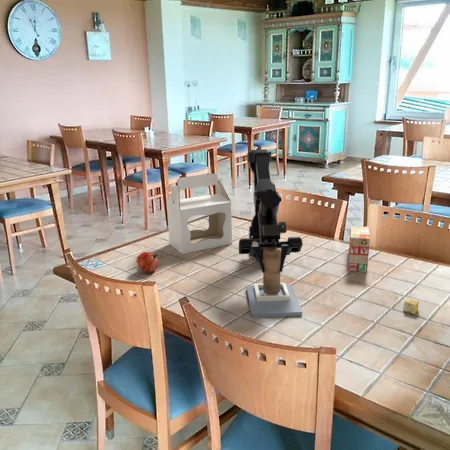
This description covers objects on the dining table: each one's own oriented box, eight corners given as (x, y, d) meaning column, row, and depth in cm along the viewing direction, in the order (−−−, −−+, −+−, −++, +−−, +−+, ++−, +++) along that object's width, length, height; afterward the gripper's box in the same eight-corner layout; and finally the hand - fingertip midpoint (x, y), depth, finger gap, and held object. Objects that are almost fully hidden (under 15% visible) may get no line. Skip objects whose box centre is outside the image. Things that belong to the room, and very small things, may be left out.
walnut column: (262, 287, 140) (262, 247, 136) (278, 286, 140) (279, 246, 136) (264, 294, 135) (264, 253, 131) (281, 294, 135) (281, 252, 131)
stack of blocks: (348, 249, 175) (350, 218, 172) (366, 250, 174) (368, 219, 170) (348, 271, 156) (350, 236, 152) (367, 272, 154) (370, 237, 150)
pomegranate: (136, 281, 157) (156, 267, 152) (125, 263, 157) (144, 248, 153) (148, 275, 163) (167, 261, 159) (137, 258, 164) (156, 244, 160)
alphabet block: (406, 307, 130) (407, 297, 129) (418, 310, 128) (419, 300, 127) (403, 311, 128) (404, 301, 127) (414, 314, 126) (415, 304, 125)
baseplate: (246, 289, 144) (246, 282, 143) (291, 287, 144) (291, 280, 143) (251, 317, 126) (251, 309, 126) (302, 315, 127) (302, 308, 126)
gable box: (217, 235, 195) (215, 169, 187) (232, 243, 184) (231, 175, 176) (168, 244, 185) (164, 176, 177) (181, 254, 174) (177, 181, 166)
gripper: (238, 212, 134) (241, 262, 127) (302, 211, 134) (308, 260, 127) (237, 230, 144) (240, 276, 137) (297, 228, 144) (302, 274, 137)
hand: (272, 272), depth 134 cm, fingers closed on walnut column, 5 cm apart
